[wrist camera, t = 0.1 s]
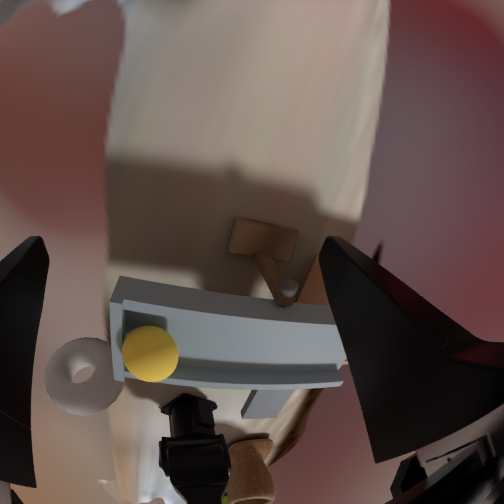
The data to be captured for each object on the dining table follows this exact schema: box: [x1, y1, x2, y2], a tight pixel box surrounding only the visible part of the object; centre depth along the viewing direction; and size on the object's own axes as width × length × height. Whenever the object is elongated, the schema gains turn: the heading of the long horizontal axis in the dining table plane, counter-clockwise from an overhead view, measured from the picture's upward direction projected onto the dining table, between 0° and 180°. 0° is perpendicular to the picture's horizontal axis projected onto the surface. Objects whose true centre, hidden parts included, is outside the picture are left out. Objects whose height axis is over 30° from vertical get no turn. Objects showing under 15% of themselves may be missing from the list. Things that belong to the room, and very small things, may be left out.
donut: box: [44, 337, 125, 415], centre depth 23 cm, size 10×3×10 cm, turn 91°
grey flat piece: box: [110, 276, 347, 419], centre depth 22 cm, size 21×16×3 cm
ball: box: [122, 325, 179, 382], centre depth 17 cm, size 4×4×4 cm
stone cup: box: [227, 439, 275, 504], centre depth 42 cm, size 15×12×15 cm
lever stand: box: [228, 217, 300, 306], centre depth 25 cm, size 6×15×8 cm, turn 163°
